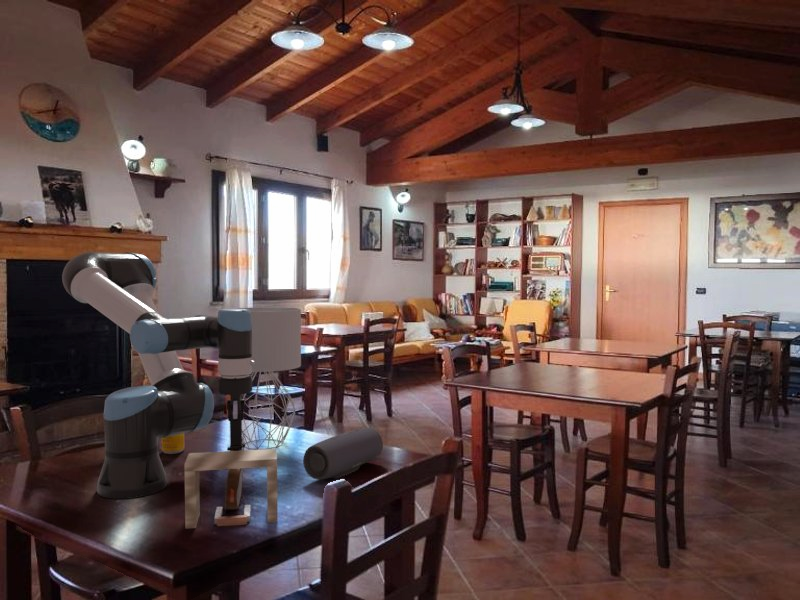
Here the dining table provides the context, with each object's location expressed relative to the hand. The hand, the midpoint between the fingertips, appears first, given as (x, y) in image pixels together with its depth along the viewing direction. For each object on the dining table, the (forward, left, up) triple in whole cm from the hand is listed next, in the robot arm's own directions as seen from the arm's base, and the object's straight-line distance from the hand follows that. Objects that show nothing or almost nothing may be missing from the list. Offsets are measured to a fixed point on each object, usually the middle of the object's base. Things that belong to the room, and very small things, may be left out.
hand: (236, 476), depth 155 cm
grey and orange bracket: (0, -17, -3) cm, 18 cm away
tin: (0, -9, -4) cm, 9 cm away
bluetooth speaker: (+26, +9, -4) cm, 28 cm away
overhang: (0, -17, -3) cm, 18 cm away
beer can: (-19, +39, -4) cm, 43 cm away
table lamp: (+6, +42, -4) cm, 42 cm away
